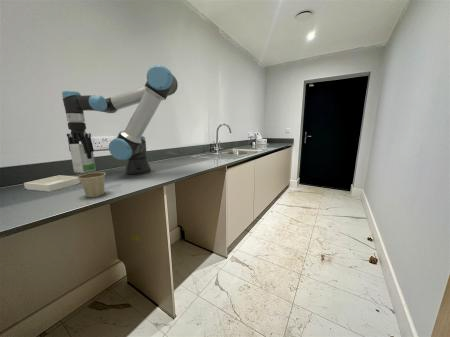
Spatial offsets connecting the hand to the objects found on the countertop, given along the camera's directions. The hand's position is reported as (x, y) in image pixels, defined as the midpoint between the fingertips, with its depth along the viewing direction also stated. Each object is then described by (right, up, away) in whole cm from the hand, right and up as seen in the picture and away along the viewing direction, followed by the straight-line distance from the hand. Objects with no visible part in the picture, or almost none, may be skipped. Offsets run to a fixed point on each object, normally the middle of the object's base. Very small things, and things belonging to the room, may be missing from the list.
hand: (84, 164), depth 101 cm
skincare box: (0, -4, +1) cm, 4 cm away
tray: (-3, -11, -14) cm, 18 cm away
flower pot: (+25, -14, -26) cm, 39 cm away
